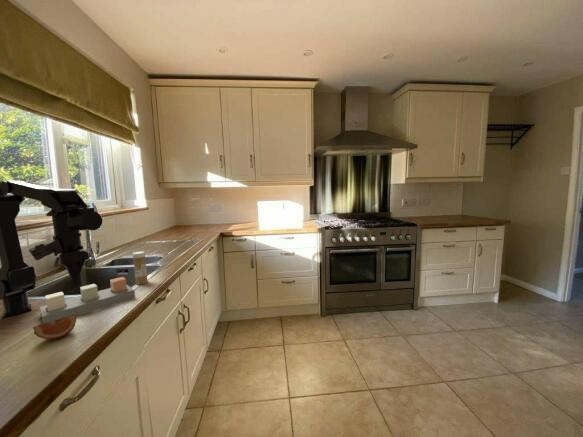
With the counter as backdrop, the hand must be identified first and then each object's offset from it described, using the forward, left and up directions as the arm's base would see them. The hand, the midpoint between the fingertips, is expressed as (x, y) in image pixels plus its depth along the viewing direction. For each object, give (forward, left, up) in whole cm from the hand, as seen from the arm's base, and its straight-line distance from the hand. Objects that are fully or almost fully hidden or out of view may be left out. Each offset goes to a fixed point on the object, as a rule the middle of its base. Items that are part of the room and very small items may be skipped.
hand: (74, 279), depth 77 cm
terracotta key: (-6, +13, -10) cm, 17 cm away
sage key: (-6, +4, -10) cm, 12 cm away
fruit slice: (+10, -6, -12) cm, 17 cm away
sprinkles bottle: (-16, +23, -12) cm, 31 cm away
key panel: (-6, +4, -12) cm, 14 cm away
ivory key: (-6, -4, -10) cm, 12 cm away
